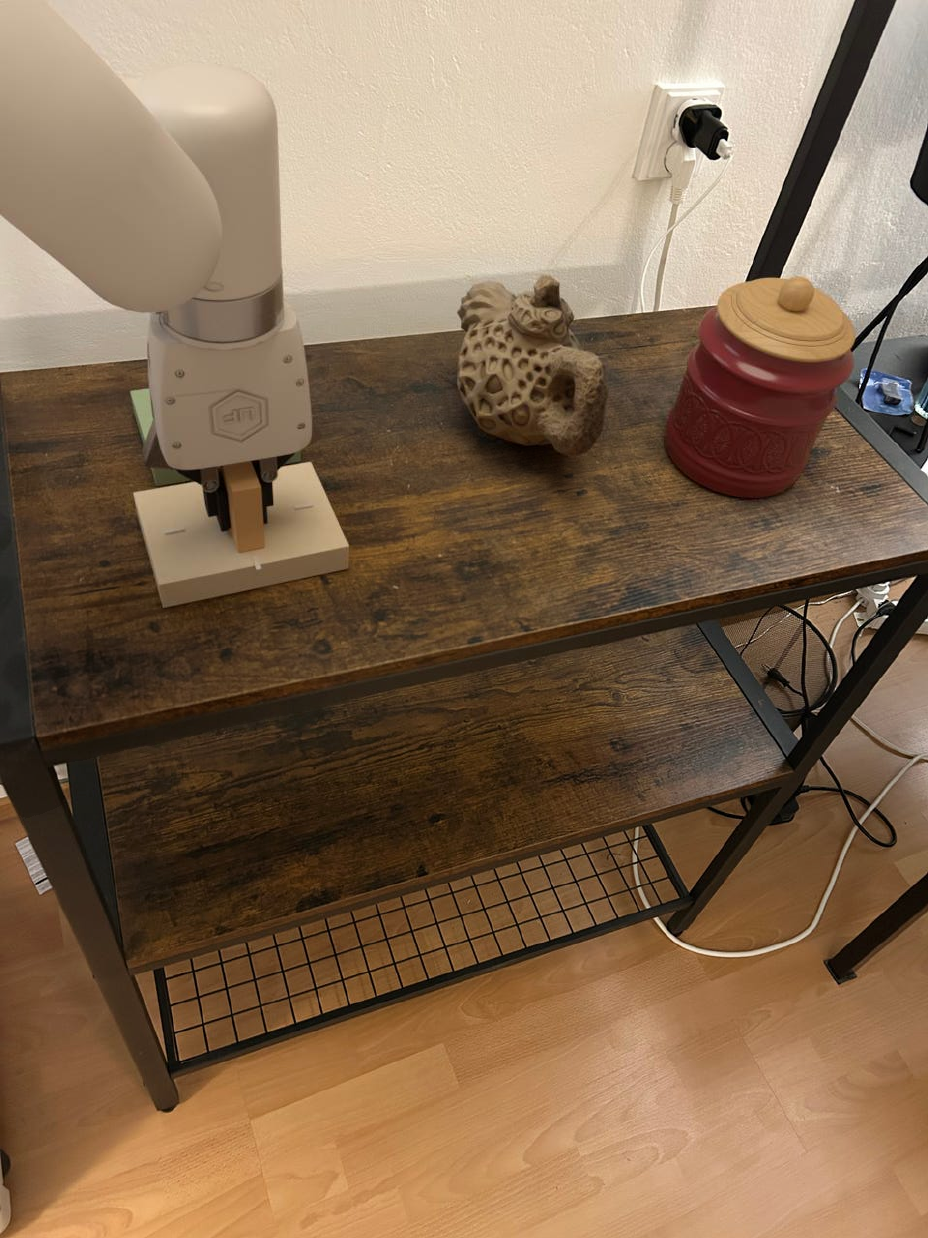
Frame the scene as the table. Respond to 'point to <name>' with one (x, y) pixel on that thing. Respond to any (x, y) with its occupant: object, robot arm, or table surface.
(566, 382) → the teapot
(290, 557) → the panel
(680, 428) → the kitchen canister
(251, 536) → the handle
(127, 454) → the table surface
